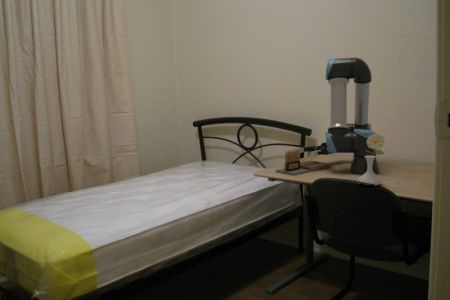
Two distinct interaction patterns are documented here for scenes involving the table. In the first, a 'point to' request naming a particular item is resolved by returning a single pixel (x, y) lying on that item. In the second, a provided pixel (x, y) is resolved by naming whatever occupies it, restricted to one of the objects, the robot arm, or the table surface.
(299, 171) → the slate mat
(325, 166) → the walnut caddy
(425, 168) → the table surface
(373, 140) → the flower in vase
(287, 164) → the ammunition clip
